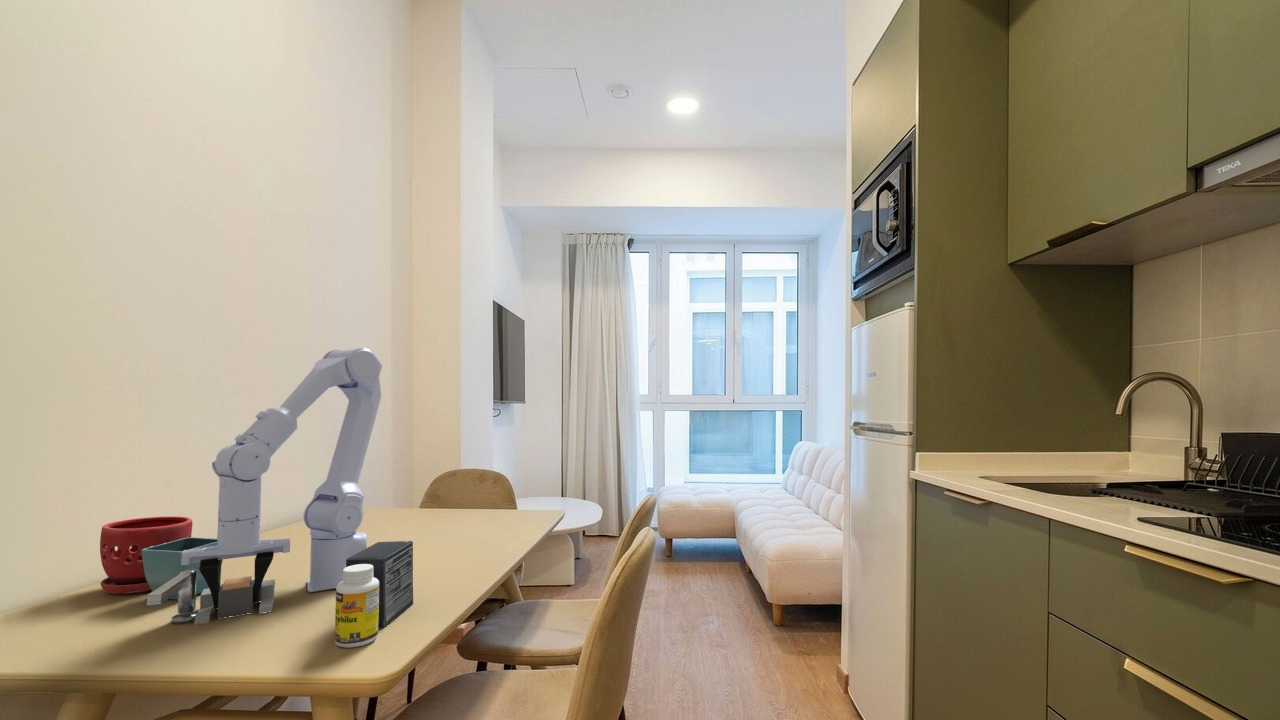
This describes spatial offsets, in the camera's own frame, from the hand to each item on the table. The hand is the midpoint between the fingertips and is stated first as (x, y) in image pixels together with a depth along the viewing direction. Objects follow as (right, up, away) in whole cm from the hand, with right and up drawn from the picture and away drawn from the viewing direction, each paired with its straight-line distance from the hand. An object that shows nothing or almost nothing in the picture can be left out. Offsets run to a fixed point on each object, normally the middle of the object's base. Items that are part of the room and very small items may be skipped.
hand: (236, 603), depth 95 cm
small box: (+24, -1, -2) cm, 24 cm away
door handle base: (-6, -1, -3) cm, 7 cm away
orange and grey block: (0, -1, 0) cm, 1 cm away
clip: (-4, 0, -8) cm, 9 cm away
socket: (0, -1, 0) cm, 1 cm away
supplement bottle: (+25, -1, -12) cm, 28 cm away
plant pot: (-26, -3, +14) cm, 30 cm away
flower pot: (-15, -2, +8) cm, 18 cm away
